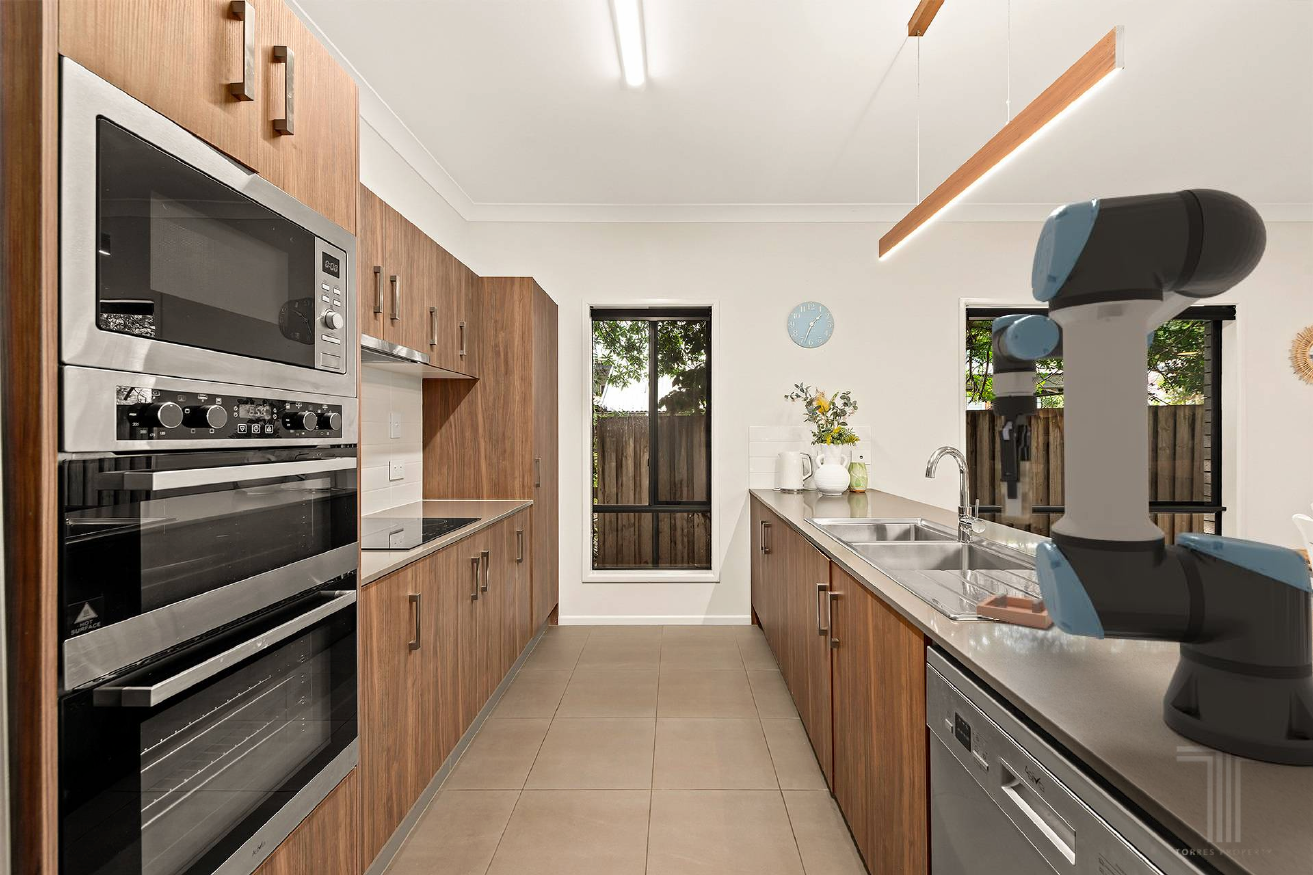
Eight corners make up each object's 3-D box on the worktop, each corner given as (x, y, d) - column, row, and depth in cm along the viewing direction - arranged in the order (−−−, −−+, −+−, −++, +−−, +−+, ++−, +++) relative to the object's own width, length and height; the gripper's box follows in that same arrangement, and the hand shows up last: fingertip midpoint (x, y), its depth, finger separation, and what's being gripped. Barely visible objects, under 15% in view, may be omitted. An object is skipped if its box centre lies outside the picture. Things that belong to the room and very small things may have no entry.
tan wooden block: (1027, 524, 123) (1026, 462, 122) (1001, 522, 126) (1000, 461, 126) (1032, 522, 125) (1031, 461, 125) (1007, 520, 128) (1006, 460, 128)
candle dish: (1045, 628, 118) (1045, 609, 118) (976, 617, 126) (976, 599, 126) (1061, 615, 127) (1061, 597, 127) (996, 605, 135) (995, 588, 135)
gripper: (1024, 393, 117) (1026, 520, 117) (1047, 395, 128) (1049, 511, 129) (980, 395, 122) (982, 517, 122) (1006, 397, 134) (1008, 508, 134)
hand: (1017, 514), depth 125 cm, fingers closed on tan wooden block, 3 cm apart
